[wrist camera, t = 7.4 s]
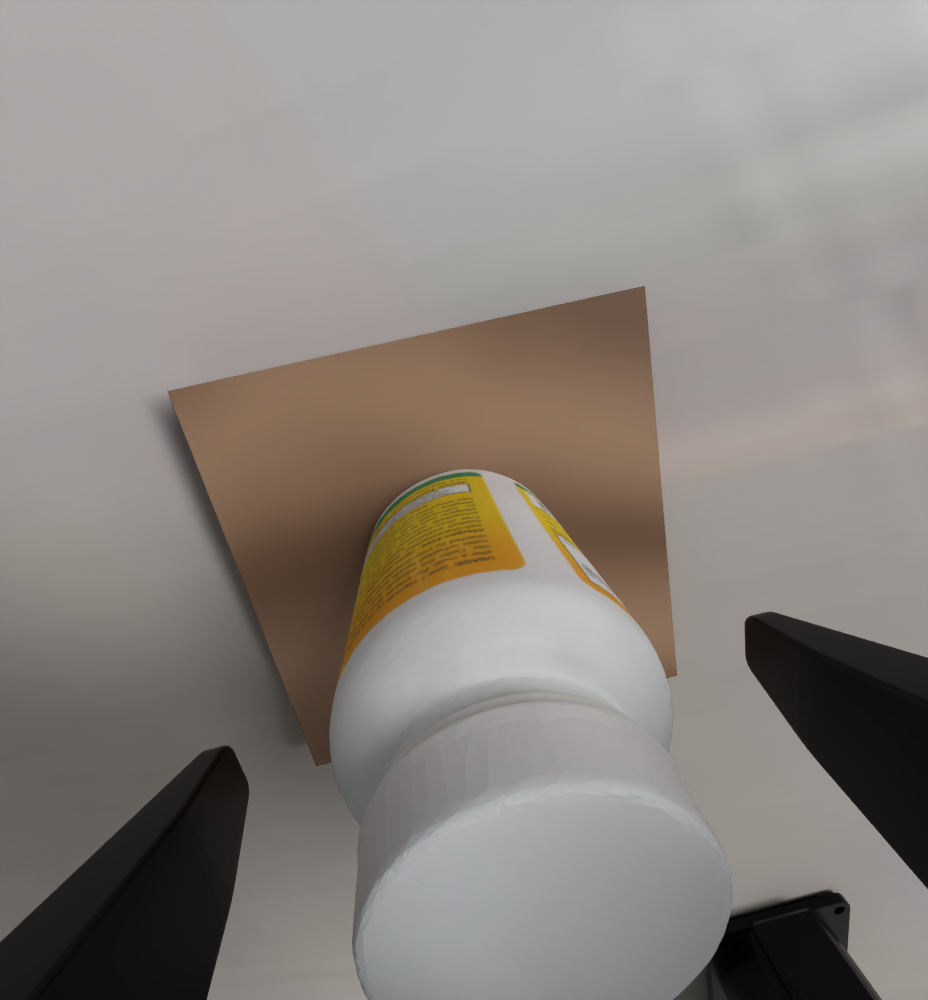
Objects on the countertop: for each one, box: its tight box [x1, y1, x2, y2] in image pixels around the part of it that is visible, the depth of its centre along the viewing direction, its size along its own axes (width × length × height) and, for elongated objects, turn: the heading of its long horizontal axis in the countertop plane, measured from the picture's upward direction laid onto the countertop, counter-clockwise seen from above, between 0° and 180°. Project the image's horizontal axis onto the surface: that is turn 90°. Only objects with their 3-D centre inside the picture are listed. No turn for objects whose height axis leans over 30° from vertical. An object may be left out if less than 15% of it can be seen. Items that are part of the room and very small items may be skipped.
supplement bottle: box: [329, 469, 732, 1000], centre depth 10 cm, size 5×5×10 cm
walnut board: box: [167, 286, 677, 766], centre depth 15 cm, size 12×12×1 cm
